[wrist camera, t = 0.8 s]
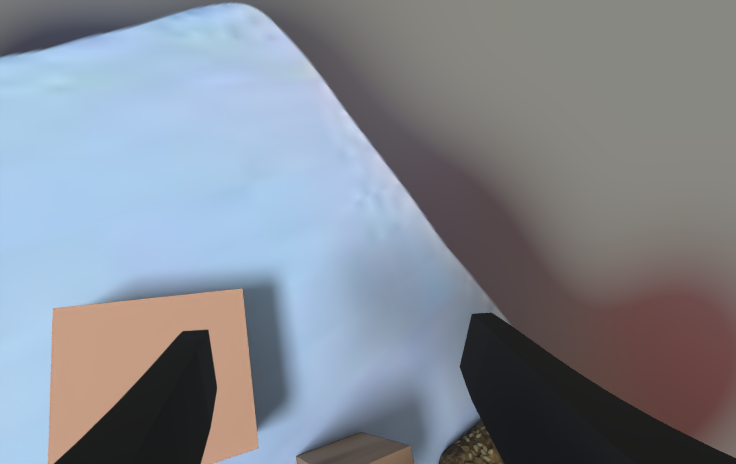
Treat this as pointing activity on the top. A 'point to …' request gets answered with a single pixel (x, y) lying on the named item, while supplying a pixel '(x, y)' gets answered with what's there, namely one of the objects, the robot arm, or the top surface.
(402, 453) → the walnut block
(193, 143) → the top surface
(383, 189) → the top surface
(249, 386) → the terracotta tile
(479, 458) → the bread roll
